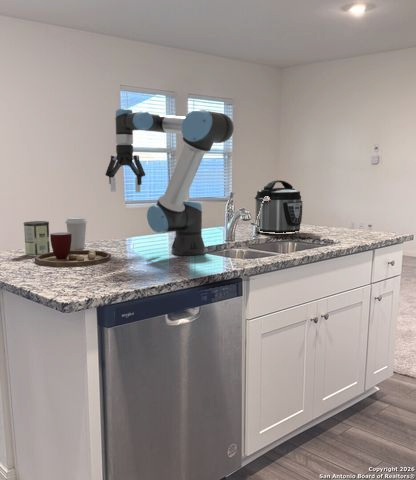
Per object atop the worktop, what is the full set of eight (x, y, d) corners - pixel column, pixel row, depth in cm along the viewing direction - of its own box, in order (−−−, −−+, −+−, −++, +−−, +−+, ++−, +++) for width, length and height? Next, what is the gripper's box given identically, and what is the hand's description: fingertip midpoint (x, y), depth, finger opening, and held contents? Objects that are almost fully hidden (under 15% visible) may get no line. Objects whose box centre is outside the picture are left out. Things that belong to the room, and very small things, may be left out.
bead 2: (97, 257, 193) (97, 250, 192) (92, 258, 190) (92, 251, 190) (91, 257, 194) (91, 249, 194) (86, 258, 192) (86, 250, 191)
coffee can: (35, 252, 213) (34, 220, 211) (55, 253, 210) (54, 221, 208) (19, 255, 204) (18, 222, 202) (39, 257, 200) (38, 223, 198)
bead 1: (86, 262, 183) (85, 254, 182) (80, 263, 180) (80, 255, 179) (79, 261, 184) (79, 254, 183) (74, 262, 181) (74, 255, 181)
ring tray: (124, 260, 195) (123, 252, 194) (77, 272, 170) (77, 264, 169) (70, 254, 207) (70, 247, 206) (20, 265, 182) (19, 257, 181)
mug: (43, 258, 191) (42, 233, 190) (59, 255, 197) (59, 231, 196) (59, 260, 185) (58, 235, 184) (76, 258, 191) (75, 233, 190)
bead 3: (97, 260, 187) (96, 252, 187) (92, 261, 185) (92, 253, 184) (91, 259, 189) (90, 252, 188) (86, 260, 186) (85, 253, 186)
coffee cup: (76, 253, 211) (75, 219, 209) (61, 251, 216) (60, 218, 214) (92, 250, 219) (91, 217, 217) (77, 248, 224) (76, 216, 222)
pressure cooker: (261, 236, 271) (262, 180, 267) (247, 231, 299) (247, 180, 294) (310, 235, 277) (312, 180, 273) (292, 230, 305) (293, 180, 300)
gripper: (152, 144, 213) (153, 192, 216) (107, 145, 224) (108, 191, 227) (143, 143, 206) (143, 192, 209) (97, 144, 217) (98, 191, 220)
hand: (125, 191), depth 218 cm, fingers open, 13 cm apart
